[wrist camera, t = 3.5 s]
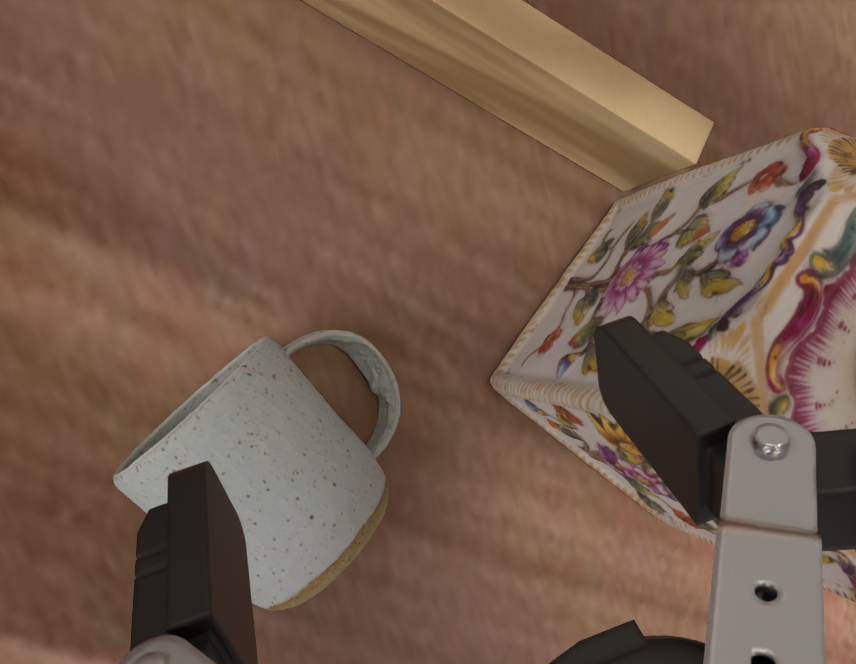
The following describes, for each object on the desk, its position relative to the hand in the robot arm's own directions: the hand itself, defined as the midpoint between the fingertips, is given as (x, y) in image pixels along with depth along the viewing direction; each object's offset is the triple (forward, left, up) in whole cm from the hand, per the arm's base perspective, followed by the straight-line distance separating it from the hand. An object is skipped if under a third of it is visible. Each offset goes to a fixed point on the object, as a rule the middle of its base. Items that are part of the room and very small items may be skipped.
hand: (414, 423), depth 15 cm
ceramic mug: (-2, -2, -19) cm, 19 cm away
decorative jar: (+15, -3, -19) cm, 25 cm away
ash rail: (+10, +12, -19) cm, 24 cm away
